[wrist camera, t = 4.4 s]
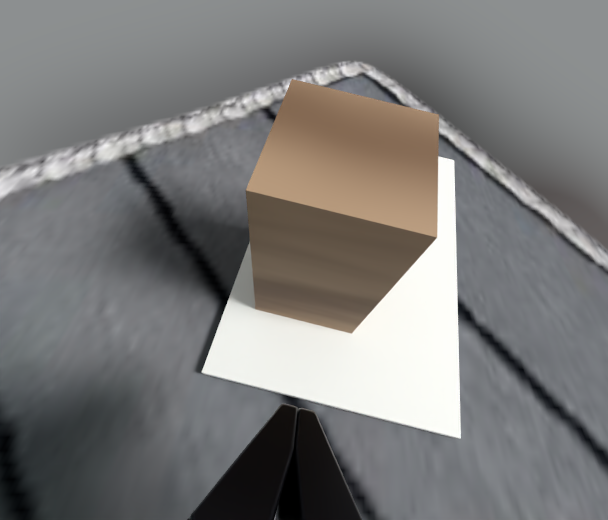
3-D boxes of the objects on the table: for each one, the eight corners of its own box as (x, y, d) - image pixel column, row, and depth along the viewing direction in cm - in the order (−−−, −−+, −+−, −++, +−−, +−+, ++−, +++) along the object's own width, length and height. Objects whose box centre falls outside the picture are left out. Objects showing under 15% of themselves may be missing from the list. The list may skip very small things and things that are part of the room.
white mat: (454, 438, 14) (460, 438, 14) (203, 374, 15) (201, 372, 14) (450, 165, 23) (454, 160, 23) (293, 127, 23) (294, 121, 23)
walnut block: (351, 333, 16) (437, 237, 8) (255, 309, 16) (245, 190, 8) (363, 251, 18) (438, 114, 10) (280, 230, 18) (292, 79, 10)
